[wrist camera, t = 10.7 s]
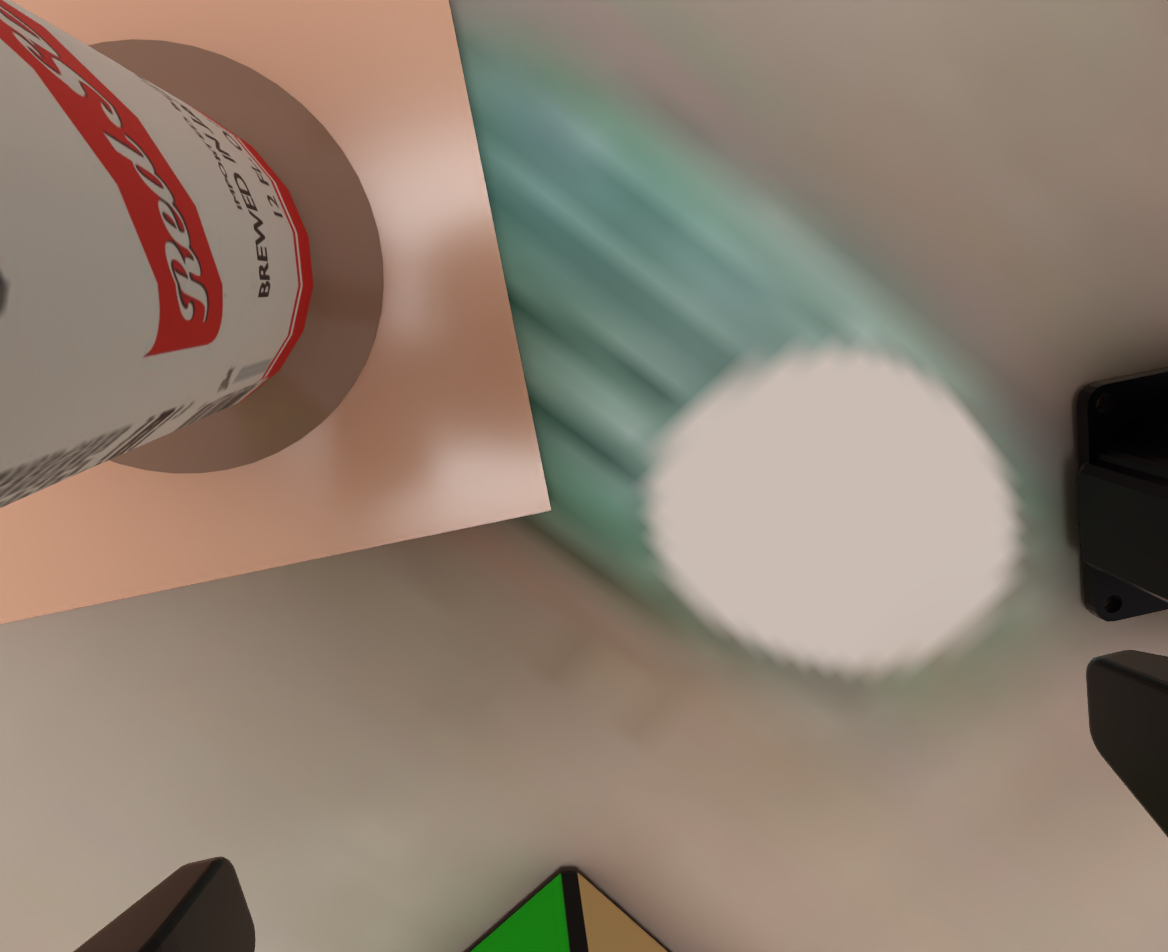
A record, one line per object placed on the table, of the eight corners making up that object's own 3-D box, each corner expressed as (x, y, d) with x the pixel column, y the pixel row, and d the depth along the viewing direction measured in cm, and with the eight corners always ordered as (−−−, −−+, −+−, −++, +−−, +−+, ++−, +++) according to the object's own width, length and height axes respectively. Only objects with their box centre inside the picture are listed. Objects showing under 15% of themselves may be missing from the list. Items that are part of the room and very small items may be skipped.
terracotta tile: (421, -131, 18) (418, -153, 17) (549, 502, 21) (551, 511, 20) (-271, -20, 17) (-314, -38, 16) (-25, 620, 20) (-49, 635, 19)
